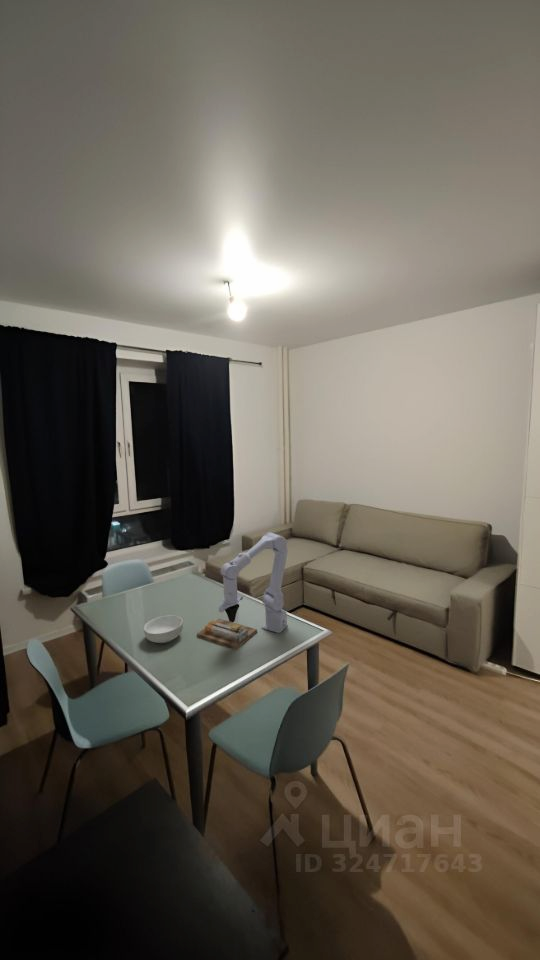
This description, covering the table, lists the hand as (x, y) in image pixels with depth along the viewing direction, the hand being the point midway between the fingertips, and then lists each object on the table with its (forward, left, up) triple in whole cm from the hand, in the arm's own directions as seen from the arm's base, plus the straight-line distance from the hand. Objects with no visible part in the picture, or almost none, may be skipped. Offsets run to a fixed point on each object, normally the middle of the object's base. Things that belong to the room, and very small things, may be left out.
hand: (232, 621), depth 166 cm
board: (+6, -3, -9) cm, 12 cm away
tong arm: (+6, -2, -8) cm, 10 cm away
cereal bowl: (+29, +13, -10) cm, 33 cm away
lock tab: (0, -2, -4) cm, 5 cm away
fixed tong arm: (+5, -1, -8) cm, 9 cm away
